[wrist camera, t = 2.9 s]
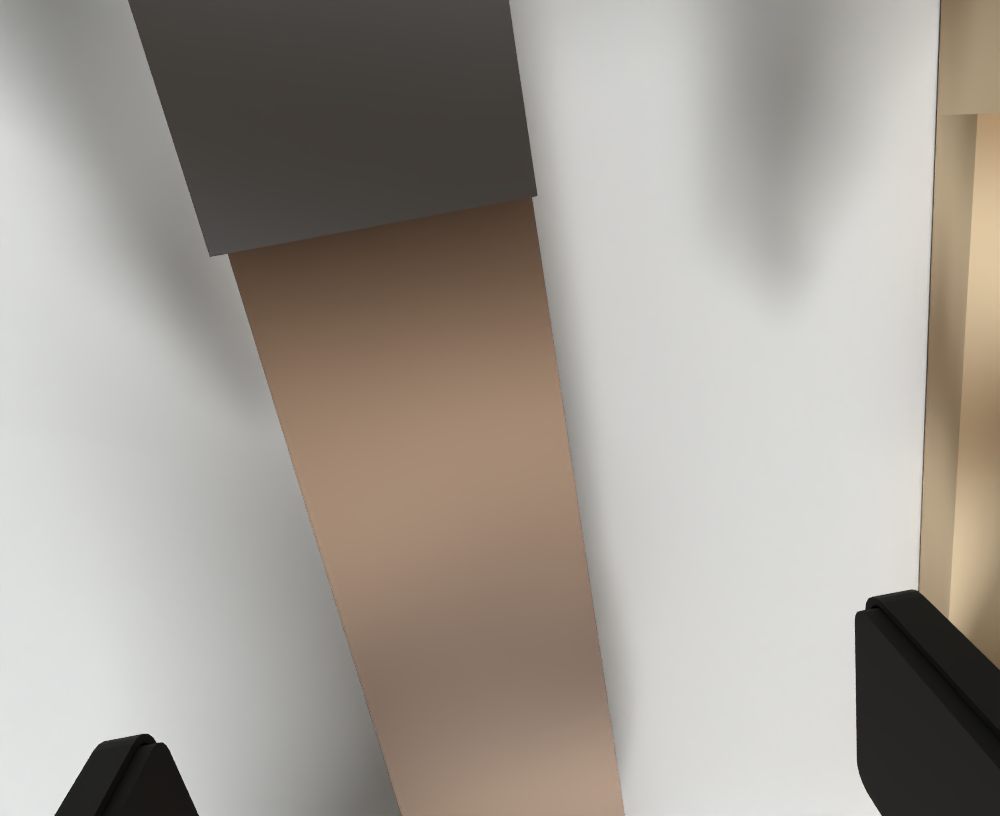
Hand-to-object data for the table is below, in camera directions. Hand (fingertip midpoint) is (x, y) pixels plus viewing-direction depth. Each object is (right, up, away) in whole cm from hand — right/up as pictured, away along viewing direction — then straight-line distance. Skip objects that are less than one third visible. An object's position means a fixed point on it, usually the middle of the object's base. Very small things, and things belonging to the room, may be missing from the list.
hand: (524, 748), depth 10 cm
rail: (-1, +2, +5) cm, 6 cm away
